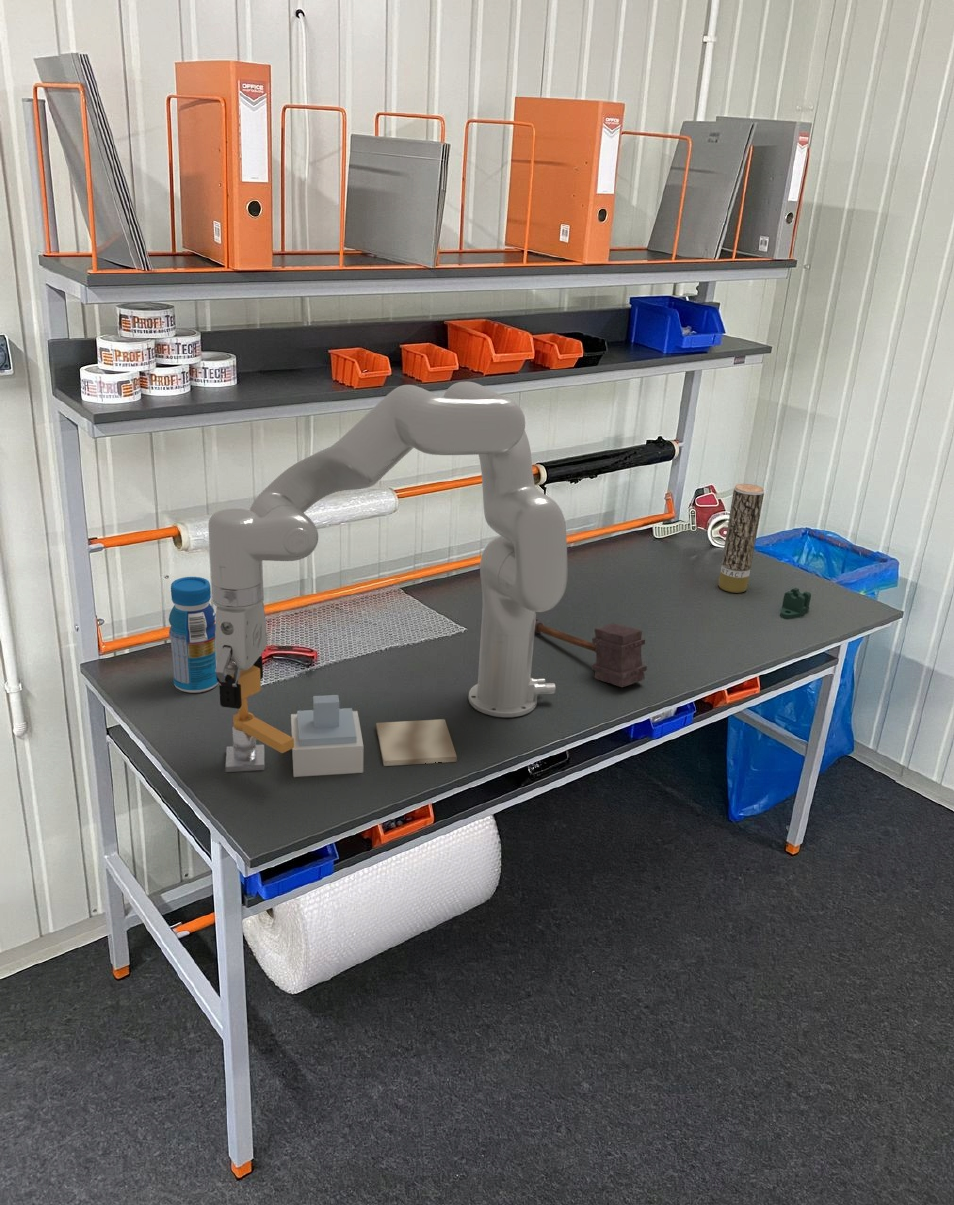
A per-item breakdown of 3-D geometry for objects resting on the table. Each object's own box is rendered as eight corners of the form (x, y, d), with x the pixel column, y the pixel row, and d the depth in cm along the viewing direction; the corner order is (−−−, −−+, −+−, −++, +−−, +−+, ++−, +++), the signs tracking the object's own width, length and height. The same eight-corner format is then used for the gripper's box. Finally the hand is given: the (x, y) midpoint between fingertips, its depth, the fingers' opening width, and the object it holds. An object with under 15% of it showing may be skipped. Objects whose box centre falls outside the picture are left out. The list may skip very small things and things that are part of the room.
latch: (302, 742, 158) (302, 689, 154) (273, 758, 154) (271, 703, 150) (252, 715, 165) (250, 663, 161) (222, 728, 160) (219, 676, 157)
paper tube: (724, 580, 247) (741, 481, 237) (751, 588, 244) (769, 488, 234) (713, 588, 242) (729, 488, 232) (740, 596, 239) (757, 494, 228)
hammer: (623, 688, 191) (621, 637, 188) (513, 653, 216) (510, 607, 214) (648, 679, 195) (647, 629, 192) (537, 645, 220) (534, 601, 218)
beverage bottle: (164, 690, 184) (156, 588, 175) (186, 669, 191) (179, 571, 183) (207, 697, 182) (201, 595, 174) (228, 676, 190) (223, 577, 181)
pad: (444, 724, 178) (444, 719, 178) (456, 761, 167) (456, 756, 167) (376, 727, 176) (376, 722, 175) (383, 765, 165) (383, 760, 165)
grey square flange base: (264, 749, 168) (263, 715, 165) (264, 769, 162) (263, 734, 160) (226, 751, 166) (225, 717, 164) (225, 772, 161) (223, 736, 158)
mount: (792, 622, 227) (796, 601, 225) (774, 615, 230) (777, 595, 228) (814, 609, 235) (818, 589, 233) (796, 603, 237) (800, 583, 235)
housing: (357, 736, 173) (357, 711, 171) (363, 772, 163) (363, 745, 161) (291, 740, 171) (290, 714, 169) (293, 776, 161) (293, 749, 159)
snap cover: (351, 714, 170) (352, 684, 167) (356, 742, 162) (356, 711, 159) (297, 717, 168) (296, 686, 166) (299, 746, 160) (298, 714, 158)
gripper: (241, 617, 144) (245, 722, 151) (280, 572, 160) (283, 669, 167) (190, 612, 145) (197, 716, 152) (234, 567, 160) (239, 664, 167)
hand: (242, 691), depth 159 cm, fingers open, 9 cm apart
